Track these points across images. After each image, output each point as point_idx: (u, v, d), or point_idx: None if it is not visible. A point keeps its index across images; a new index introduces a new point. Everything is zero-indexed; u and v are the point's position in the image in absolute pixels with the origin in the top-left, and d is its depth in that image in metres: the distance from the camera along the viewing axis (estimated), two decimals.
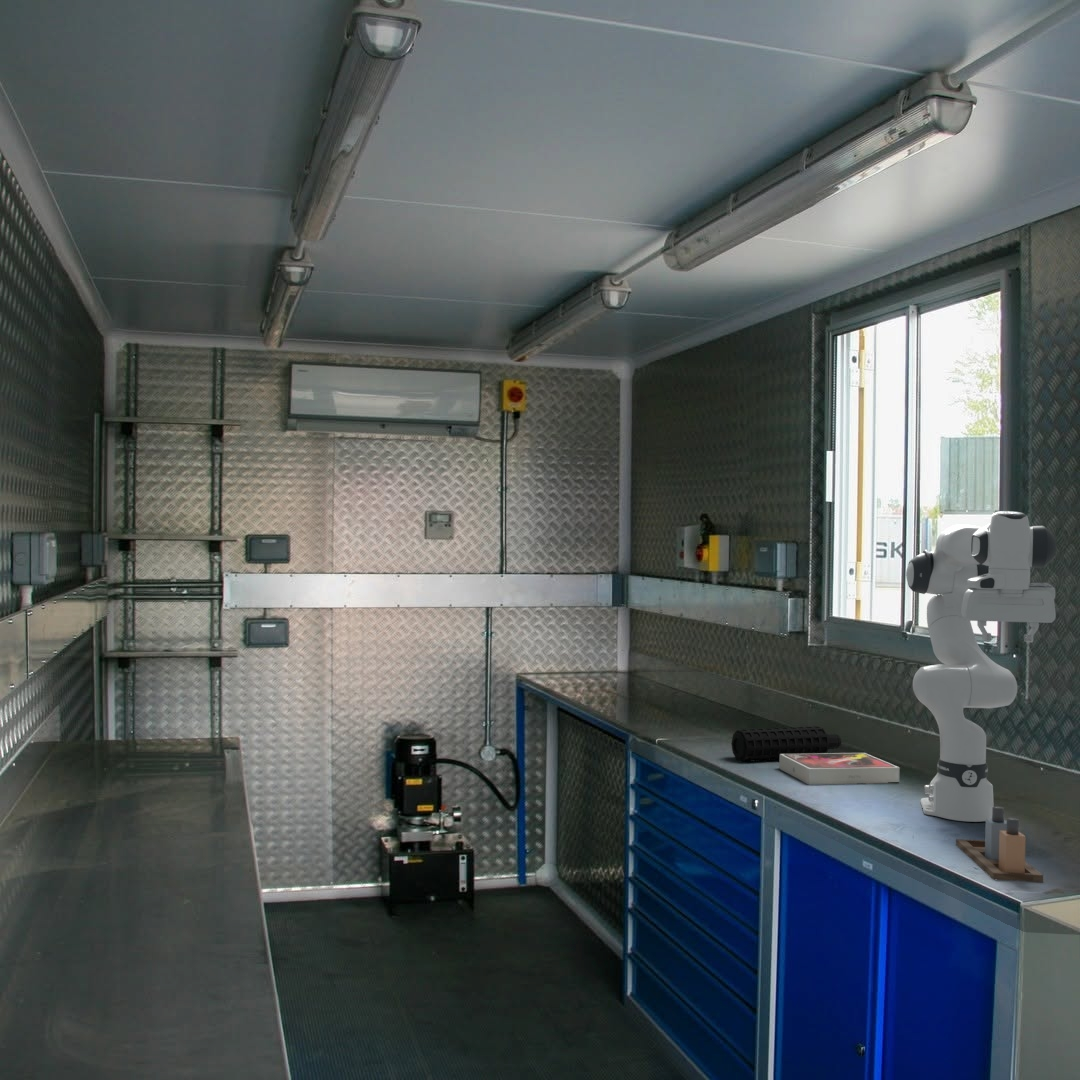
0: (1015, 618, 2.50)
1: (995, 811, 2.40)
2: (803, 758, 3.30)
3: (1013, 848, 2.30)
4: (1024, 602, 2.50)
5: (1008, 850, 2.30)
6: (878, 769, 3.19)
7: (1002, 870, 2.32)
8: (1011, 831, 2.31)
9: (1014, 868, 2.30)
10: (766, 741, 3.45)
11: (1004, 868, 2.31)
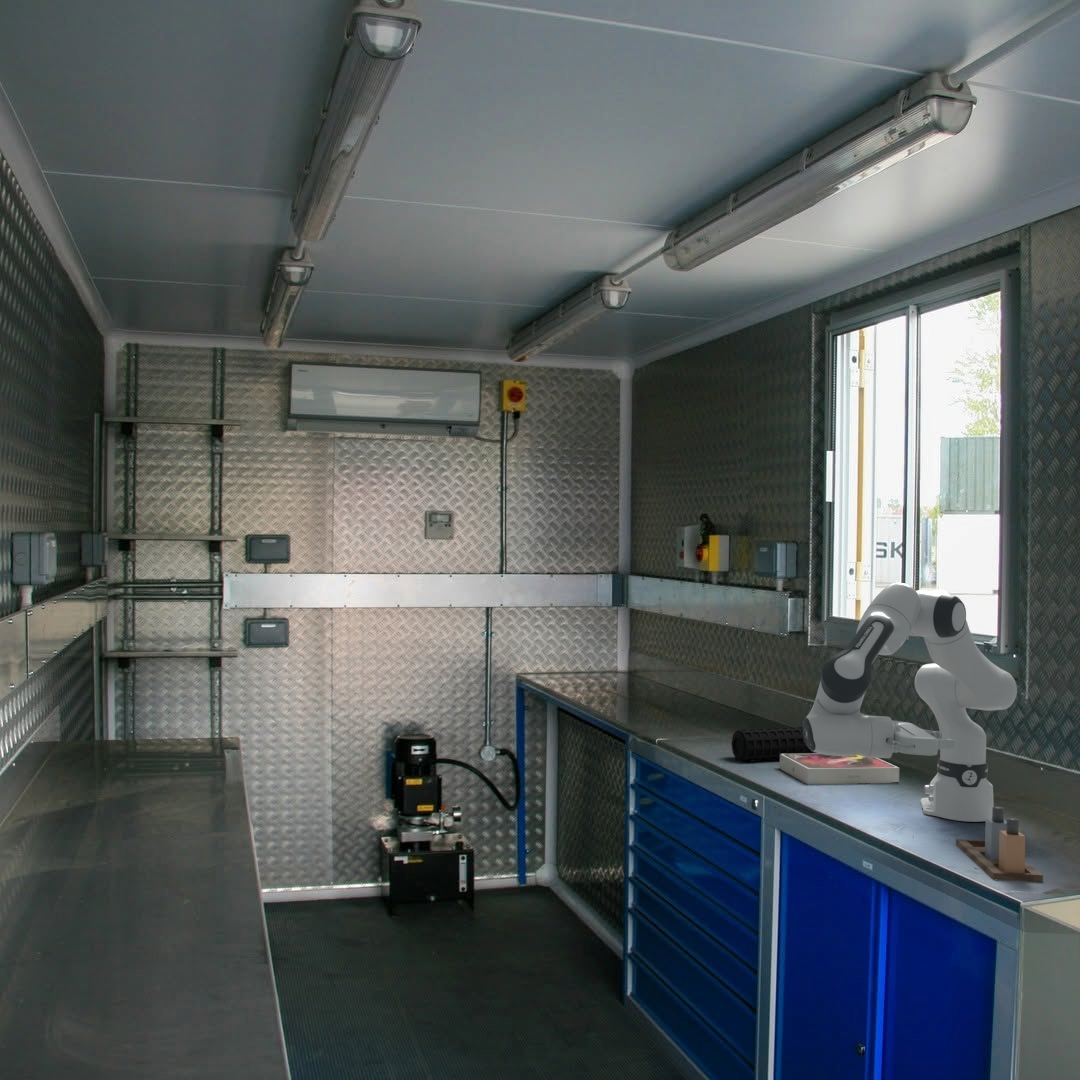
0: None
1: (995, 811, 2.40)
2: (803, 758, 3.30)
3: (1013, 848, 2.30)
4: None
5: (1008, 850, 2.30)
6: (877, 769, 3.19)
7: (1002, 870, 2.32)
8: (1011, 831, 2.31)
9: (1014, 868, 2.30)
10: (766, 741, 3.45)
11: (1004, 868, 2.31)
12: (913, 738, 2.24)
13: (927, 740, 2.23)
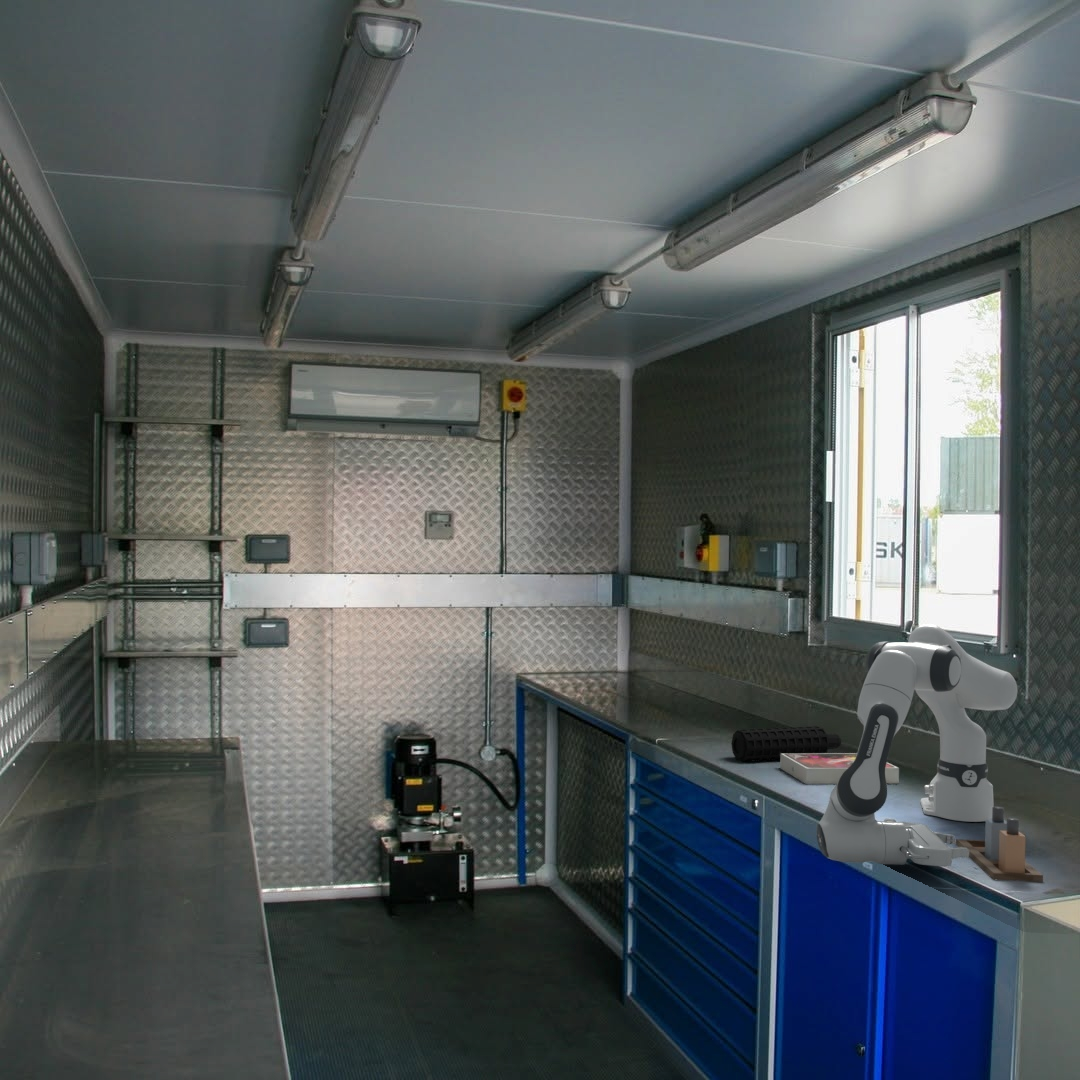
0: None
1: (995, 811, 2.40)
2: (803, 758, 3.31)
3: (1013, 848, 2.30)
4: None
5: (1008, 850, 2.30)
6: None
7: (1002, 870, 2.32)
8: (1011, 831, 2.31)
9: (1014, 868, 2.30)
10: (766, 741, 3.45)
11: (1004, 868, 2.31)
12: (927, 849, 2.24)
13: (941, 851, 2.24)
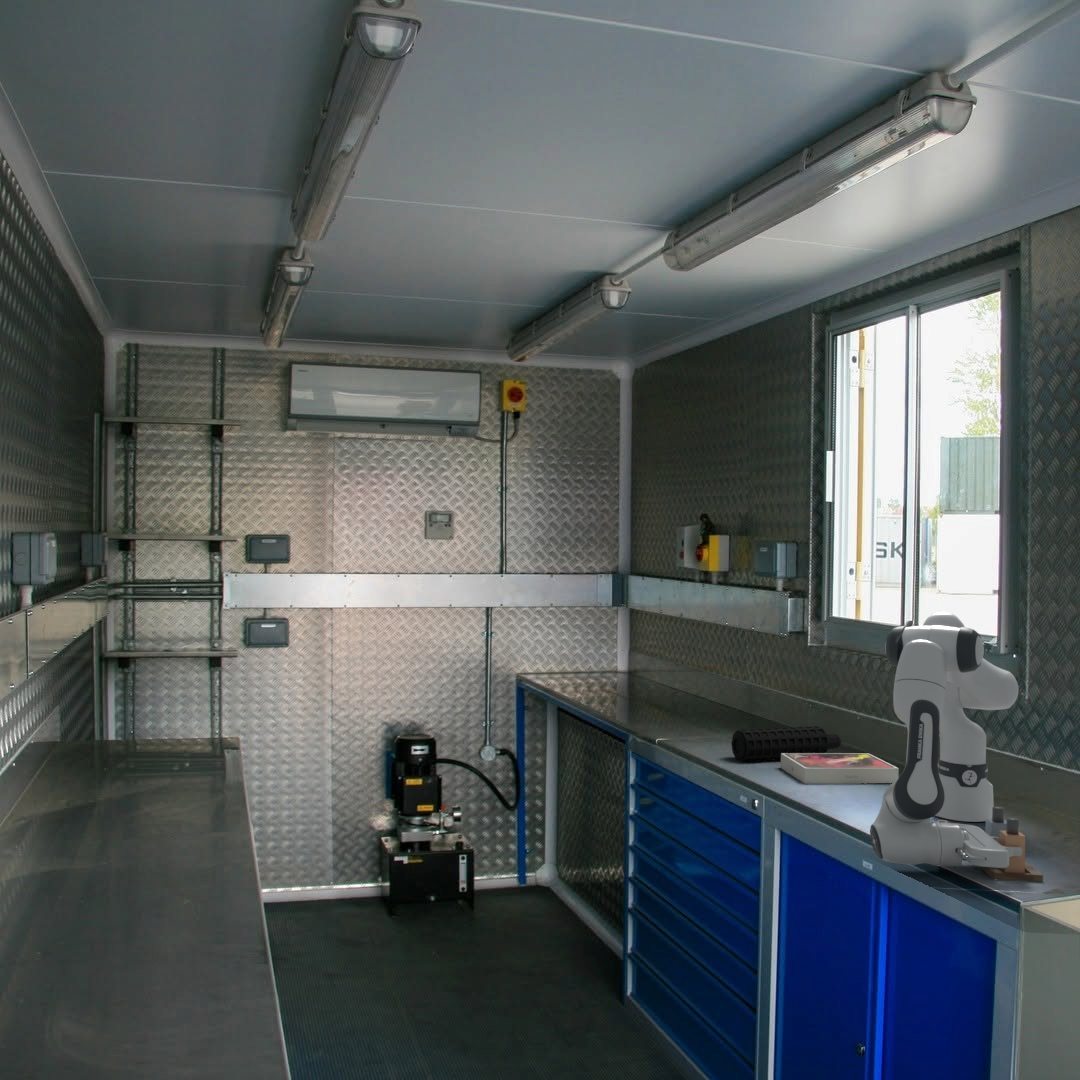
0: None
1: (995, 811, 2.40)
2: (803, 758, 3.31)
3: None
4: None
5: None
6: (876, 769, 3.18)
7: (1002, 870, 2.32)
8: (1011, 831, 2.31)
9: (1014, 868, 2.30)
10: (766, 741, 3.45)
11: (1004, 868, 2.31)
12: (984, 850, 2.23)
13: (998, 853, 2.23)
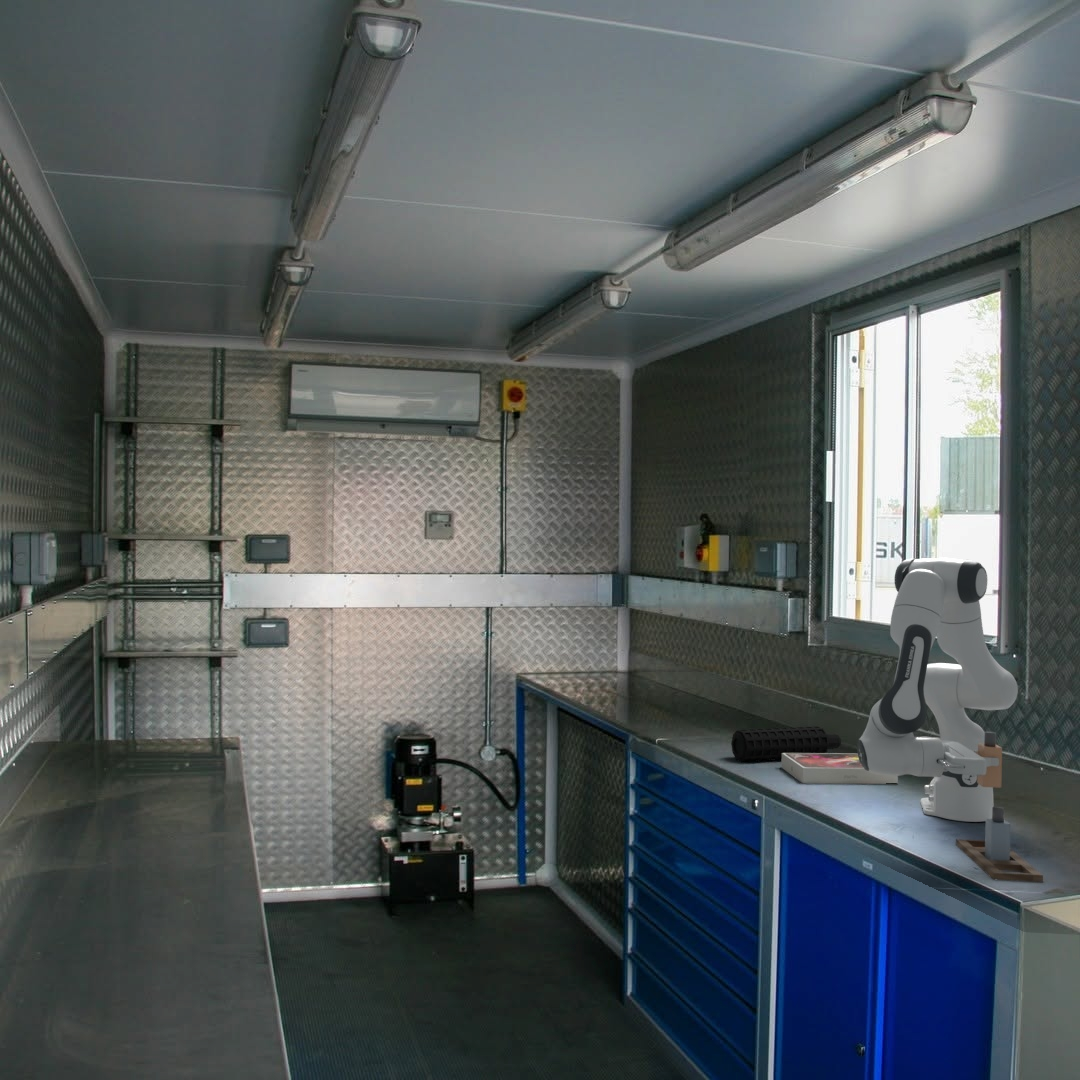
0: None
1: (995, 811, 2.40)
2: (803, 757, 3.31)
3: None
4: None
5: None
6: None
7: (980, 780, 2.48)
8: (989, 743, 2.47)
9: (991, 777, 2.46)
10: (766, 741, 3.45)
11: (982, 778, 2.46)
12: (963, 759, 2.39)
13: (976, 761, 2.38)
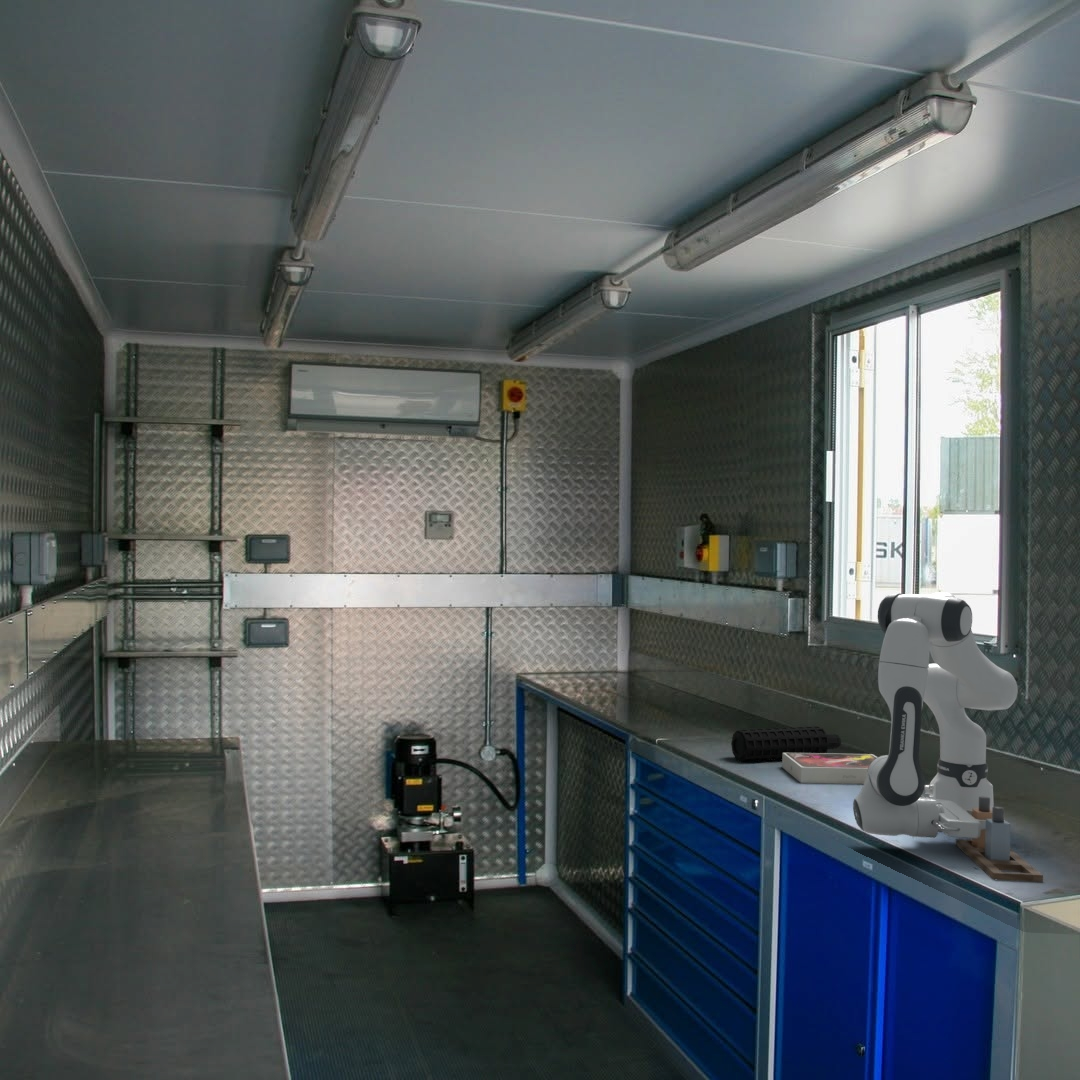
0: None
1: (995, 811, 2.40)
2: (803, 757, 3.32)
3: None
4: None
5: None
6: None
7: (975, 845, 2.50)
8: (983, 809, 2.49)
9: None
10: (766, 741, 3.45)
11: (976, 843, 2.49)
12: (957, 822, 2.41)
13: (971, 824, 2.40)
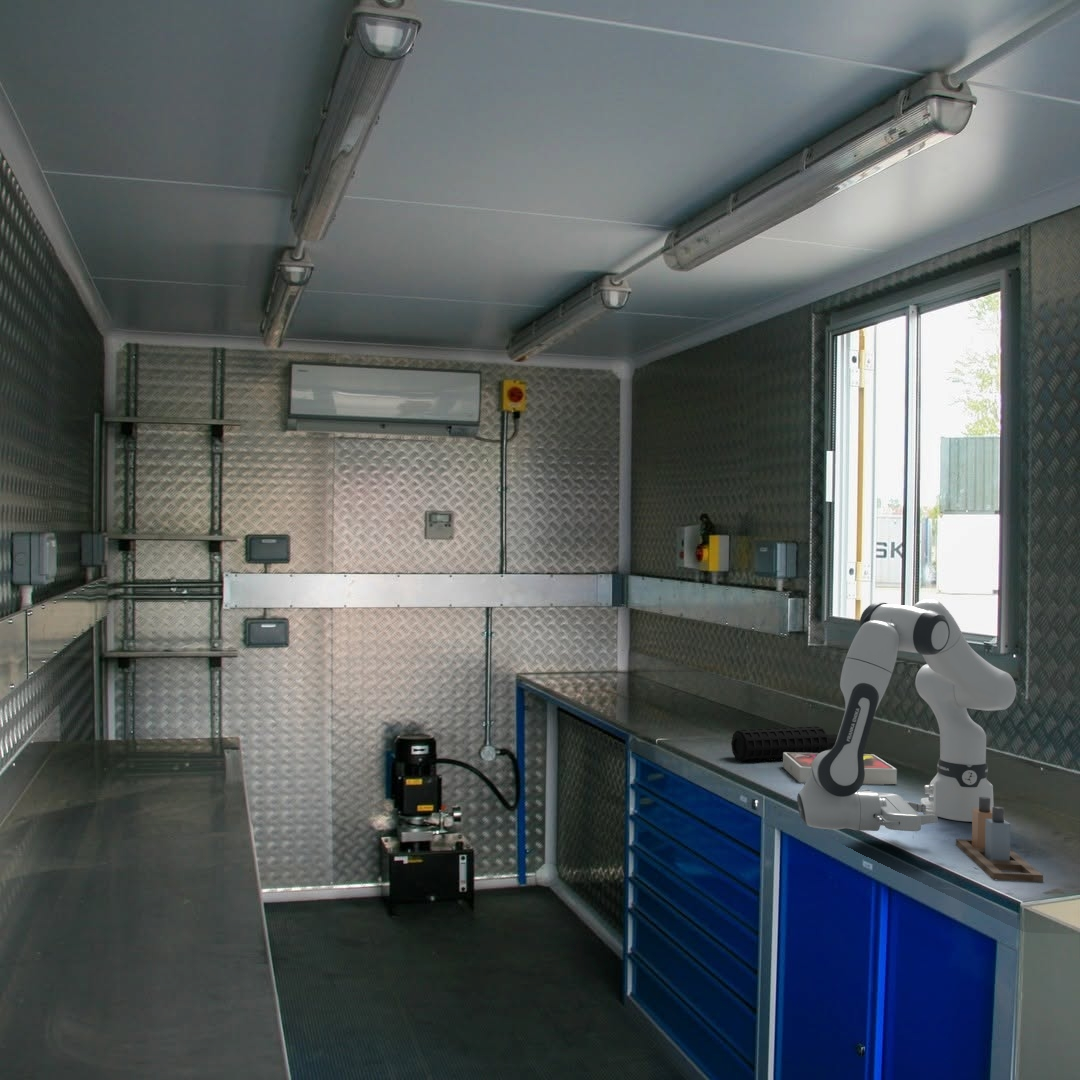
0: None
1: (995, 811, 2.40)
2: (803, 757, 3.32)
3: (984, 825, 2.48)
4: None
5: (980, 826, 2.48)
6: (874, 770, 3.17)
7: (975, 845, 2.50)
8: (983, 809, 2.49)
9: None
10: (766, 741, 3.45)
11: (976, 843, 2.49)
12: (898, 815, 2.42)
13: (911, 817, 2.42)
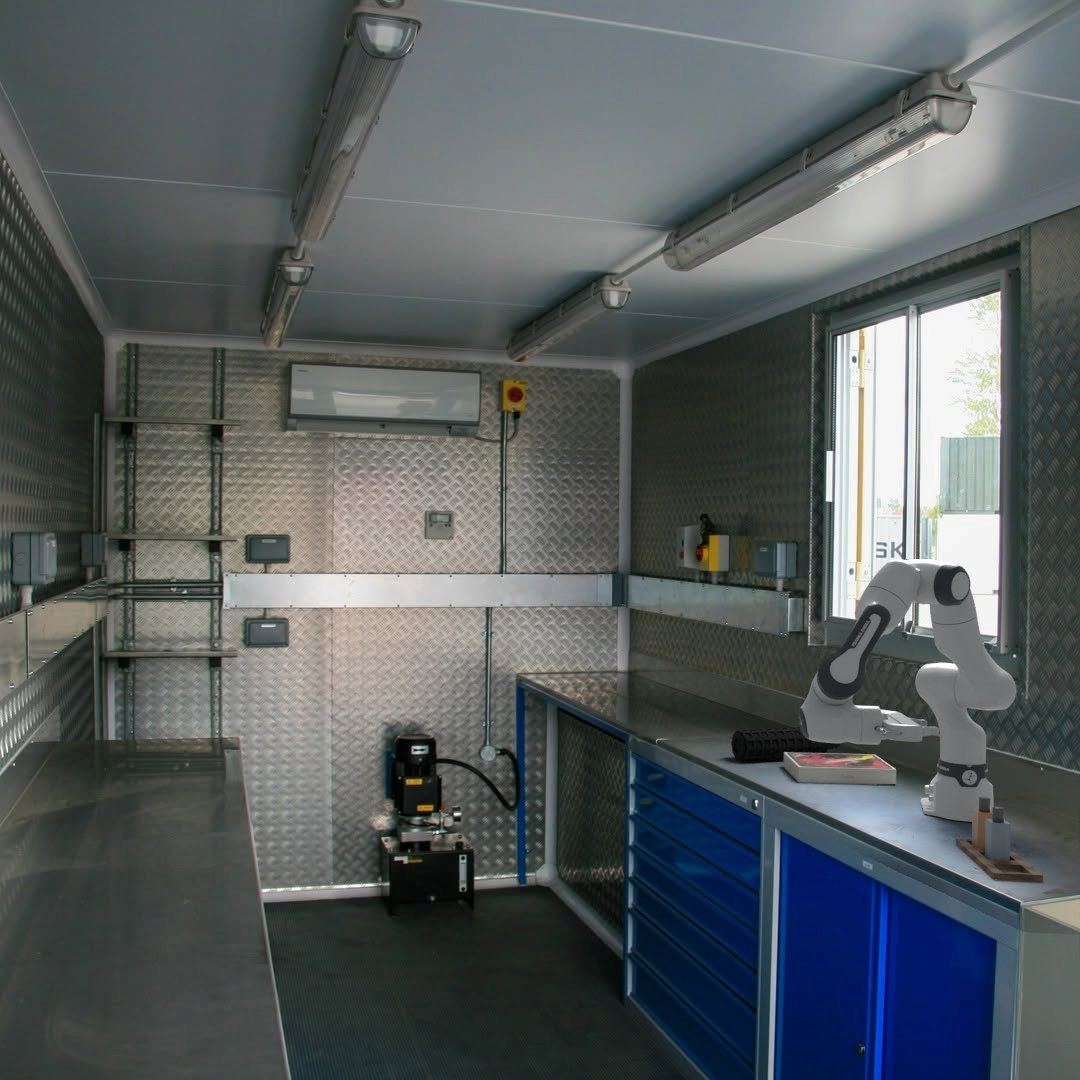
0: None
1: (995, 811, 2.40)
2: (803, 757, 3.32)
3: (984, 825, 2.48)
4: None
5: (980, 826, 2.48)
6: (873, 770, 3.17)
7: (975, 845, 2.50)
8: (983, 809, 2.49)
9: None
10: (766, 741, 3.45)
11: (976, 843, 2.49)
12: (899, 726, 2.42)
13: (912, 728, 2.41)
